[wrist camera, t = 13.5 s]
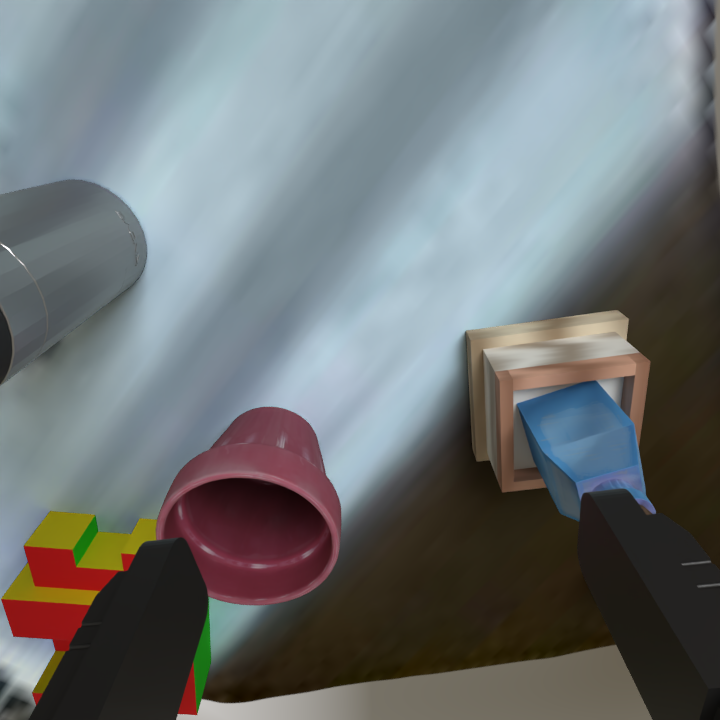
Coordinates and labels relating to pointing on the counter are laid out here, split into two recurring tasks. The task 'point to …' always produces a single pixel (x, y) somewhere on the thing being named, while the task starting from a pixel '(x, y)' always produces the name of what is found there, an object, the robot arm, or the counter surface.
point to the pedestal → (545, 381)
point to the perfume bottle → (583, 445)
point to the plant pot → (257, 510)
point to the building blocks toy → (81, 589)
